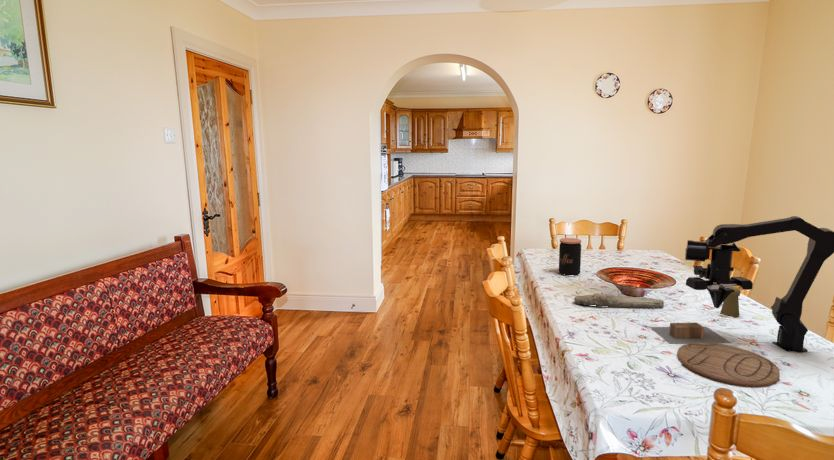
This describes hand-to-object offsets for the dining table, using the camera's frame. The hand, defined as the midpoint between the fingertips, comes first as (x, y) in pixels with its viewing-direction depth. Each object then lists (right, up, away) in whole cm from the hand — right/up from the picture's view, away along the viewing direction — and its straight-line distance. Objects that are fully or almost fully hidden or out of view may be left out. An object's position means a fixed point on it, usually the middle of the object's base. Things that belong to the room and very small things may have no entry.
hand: (716, 307), depth 150 cm
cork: (+19, -7, +21) cm, 29 cm away
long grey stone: (-17, -5, +35) cm, 39 cm away
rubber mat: (-7, -10, +3) cm, 13 cm away
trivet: (-9, -15, -17) cm, 25 cm away
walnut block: (-5, -8, +2) cm, 9 cm away
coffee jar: (-22, +3, +81) cm, 84 cm away
